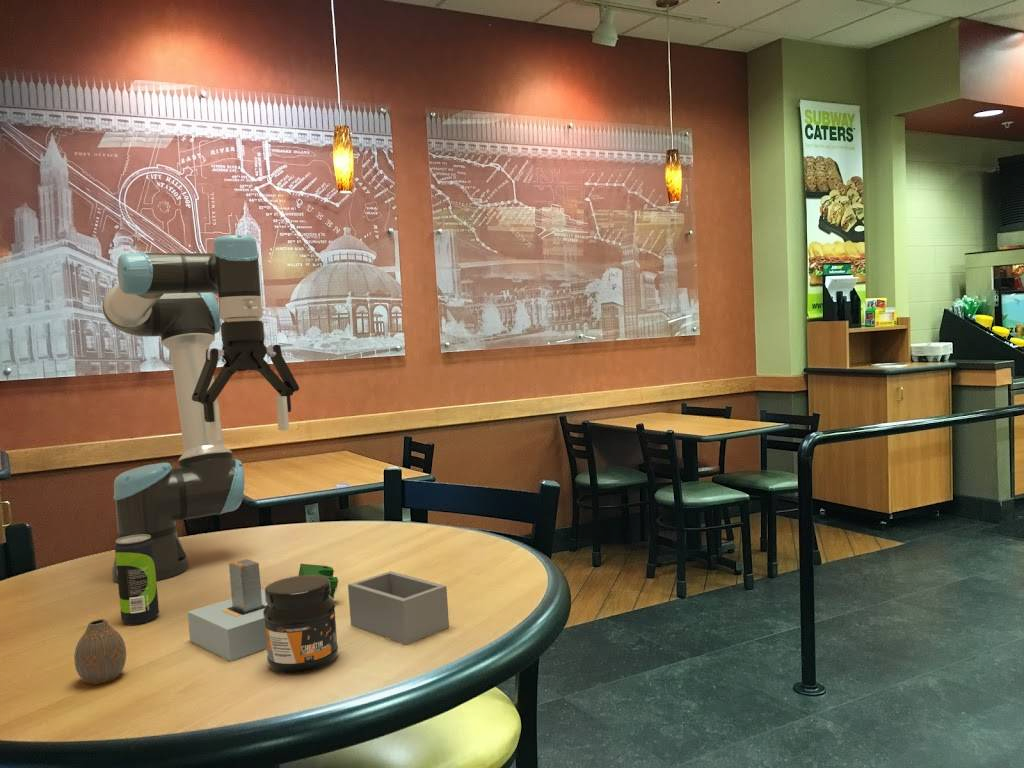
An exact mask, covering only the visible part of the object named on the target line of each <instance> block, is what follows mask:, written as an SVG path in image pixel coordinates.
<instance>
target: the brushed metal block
mask: <svg viewBox="0 0 1024 768" xmlns="http://www.w3.org/2000/svg"><path fill="white" fill-rule="evenodd" d="M228 568H229V570H228V571H229V581H230V593H231V594H230V595H231V599H232V606H233V611H234V612H236V613H238V614H241V615H245V614H248V613H251V612H254V611H257V610H261V609H262V597H261V590H262V585H261V573H260V563H259V562H257V561H254V560H252V559H248V558H246V559H243V560H238V561H231V562H229V563H228Z"/></svg>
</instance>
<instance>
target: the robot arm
mask: <svg viewBox="0 0 1024 768" xmlns="http://www.w3.org/2000/svg"><path fill="white" fill-rule="evenodd" d="M213 242H214V244H213V252H184V253H183V252H181V253H180V252H177V253H176V252H174V253H173V252H171V253H170V252H142V251H138V252H128V253H122V254H120V255H119V256H118V259H117V281H118V285H115V286H113V287H112V288H110V289H109V290H108V291H107V292H106V294H105V296H104V298H103V300H102V307H101V308H102V313H103V315H104V317H105V320H106V321H107V322H108V323H109V324H110V325H111V326H112V327H114V328H115V329H117V330H118V331H120V332H123V333H124V334H125V333H126V334H128V335H131V336H137V337H143V338H144V337H145V338H146V337H147V338H148V337H160V338H161V339H160V340H161V344H162V346H163V347H164V348H165V349H167V350H168V351H169V353H170V359H171V364H172V373H173V380H174V387H175V394H176V400H177V409H178V415H179V422H180V431H181V437H182V443H183V444H182V445H183V450H184V451H183V454H181V456H180V457H179V459H178V467H174V468H173V466H172V465H171V463H170V462H158V463H153V464H147V465H142V466H139V467H135V468H131V469H128V470H125V471H124V472H122V473H120V474H118V475H117V476H116V477H115V479H114V482H113V496H112V497H113V498H112V499H113V500H114V501H115V502H114V503H115V504H114V505H115V516H116V527H117V537H118V538H117V539H119V538H122V537H126V536H131V535H139V534H147V535H150V536H151V538H150V539H151V540H152V541H153V550H154V561H155V573H156V581H160V580H164V579H168V578H172V577H174V576H177V575H180V574H183V573H184V572H185V571H187V570H188V569H189V560H188V559H189V558H188V555H187V553H186V551H185V549H184V547H183V544H182V542H181V540H180V538H179V536H178V532H177V530H178V529H177V522H178V521H185V520H190V519H198V518H202V517H208V516H214V515H215V516H216V515H217V516H218V515H219V516H220V515H222V514H225V513H229V512H234V511H236V510H237V509H239V508H240V506H241V504H242V501H243V500H244V499H243V498H244V494H245V483H246V482H245V481H246V480H245V469H244V467H243V463H242V460H239V459H237V458H234V457H233V456H234V455H233V451H232V450H230V449H229V448H227V447H226V446H225V443H224V437H223V429H222V423H221V414H220V404H219V402H218V397H219V396H220V394H221V392H222V391H223V389H224V388H225V386H226V385H227V384H228V382H229V380H230V379H231V378H232V377H233V375H234V374H236V372H246V371H256V372H258V373H260V374H261V376H262V377H263V378H264V379H265V380H266V381H267V382H268V383H269V384H270V386H272V387H273V389H274V390H275V391H276V392H277V393H278V394H279V395H277V396H275V404H276V417H277V429H278V431H290V425H289V424H290V423H289V413H291V411H292V403H291V401H292V400H291V396H293V395H294V393H296V392H298V391H299V390H300V387H299V386H300V385H299V384H298V383H297V380H296V379H295V377H294V375H293V373H292V372H291V369H290V367H289V366H288V364H287V362H286V361H285V358H284V356H283V353H282V348H281V345H280V344H269V346H266V345H265V328H264V322H263V321H262V320H260V318H262V317H263V316H264V315H263V303H262V293H261V291H262V290H261V289H262V288H261V277H260V275H261V274H260V266H259V264H260V263H259V257H260V254H259V251H258V245H257V241H256V239H255V237H253V236H251V235H246V234H245V235H243V234H229V235H220V236H217V237H215V239H214V241H213ZM215 295H218V297H217V298H218V301H217V298H216V296H215ZM221 321H223V322H222V323H221ZM219 332H220V334H221V343H222V348H221V349H218V348H217V347H216V348H210V346H211V345H212V344H213V342H214V341H215V340H216V337H215V336H216V335H215V334H218V333H219ZM266 355H267V356H268V357H269V358H270V361H271V362H272V364H273V366H274V368H275V369H276V371H277V373H278V375H279V376H278V375H277V374H276V373H275V372H274V370H273V369H272V368H271V367H270V366H271V365H270V364H269V363H268V362H267V361H266V360H265V357H266ZM221 358H222V359H224V361H225V363H224V364H223V366H222V367H221V369H220V372H219V374H218V375H217V376H216V378H215V372H216V369H217V367H218V363H219V361H220V360H221ZM114 556H115V557H114V560H113V565H112V568H111V569H112V573H111V574H112V580H113V582H116V583H118V577H117V566H116V555H114Z"/></svg>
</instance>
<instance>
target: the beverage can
mask: <svg viewBox="0 0 1024 768" xmlns="http://www.w3.org/2000/svg"><path fill="white" fill-rule="evenodd" d="M150 538H151V536H150V535H147V534H139V535H131V536H126V537H122V538H119V539H118V538H117V539H115V544H116V545H115V546H114V554H115V555H114V556H116V566H117V577H118V582H117V584H118V585H117V586H118V587H117V588H118V597H119V607H120V617H121V618H120V619H121V621H122V622H124V624H126V625H129V624H130V625H131V626H133V625H135V624H136V625H141V624H146V623H150V622H152V621H154V620H155V619H156V618H157V617H158V615H159V612H160V609H159V607H160V605H159V596H158V587H157V580H156V573H155V561H154V550H153V541H152V540H151V539H150Z"/></svg>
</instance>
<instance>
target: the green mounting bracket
mask: <svg viewBox="0 0 1024 768" xmlns="http://www.w3.org/2000/svg"><path fill="white" fill-rule="evenodd" d="M334 572H335V571H334V569H333V567H332V566H328V565H323V564H322V565H318V564H308V563H300V565H299V570H298V574H297V576H303V575H317V576H323V577H326V578H328V579H329V581H330V589H331V593H330V596H331V597H332V598H333V599H334V598H335V592H336V589H337V588H338V584H339V579H338V576H334ZM334 600H335V599H334Z"/></svg>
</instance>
